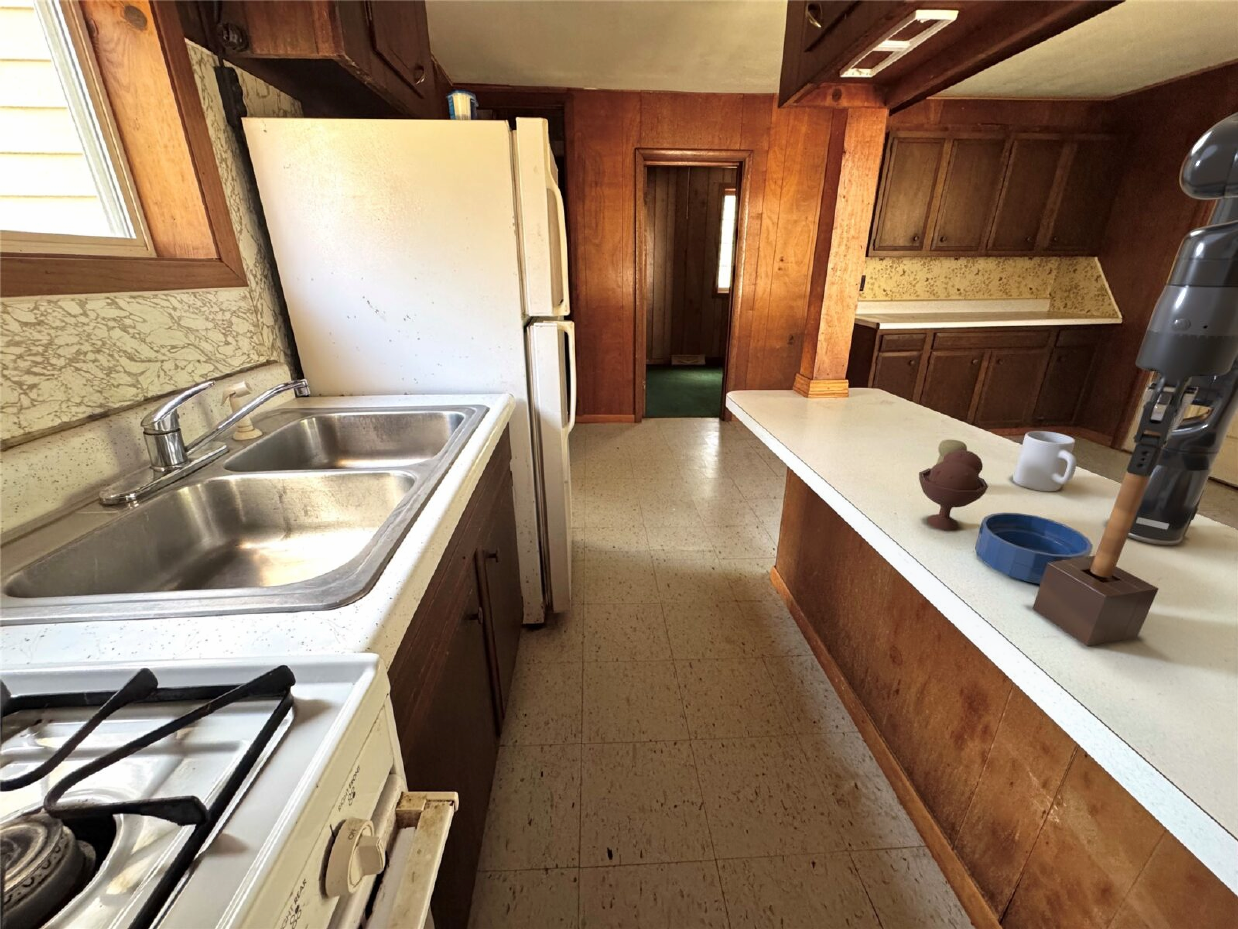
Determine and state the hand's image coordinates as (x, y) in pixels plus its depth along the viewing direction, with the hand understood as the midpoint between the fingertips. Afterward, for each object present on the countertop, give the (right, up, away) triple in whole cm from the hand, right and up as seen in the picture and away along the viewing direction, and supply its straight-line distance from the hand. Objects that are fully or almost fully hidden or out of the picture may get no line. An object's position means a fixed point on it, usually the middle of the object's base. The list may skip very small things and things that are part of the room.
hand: (1140, 470), depth 63 cm
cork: (+7, -5, +50) cm, 51 cm away
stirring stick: (0, -14, +6) cm, 15 cm away
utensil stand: (+1, -22, +9) cm, 23 cm away
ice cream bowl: (-2, -11, +36) cm, 37 cm away
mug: (+28, -4, +49) cm, 57 cm away
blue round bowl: (+3, -16, +22) cm, 28 cm away
